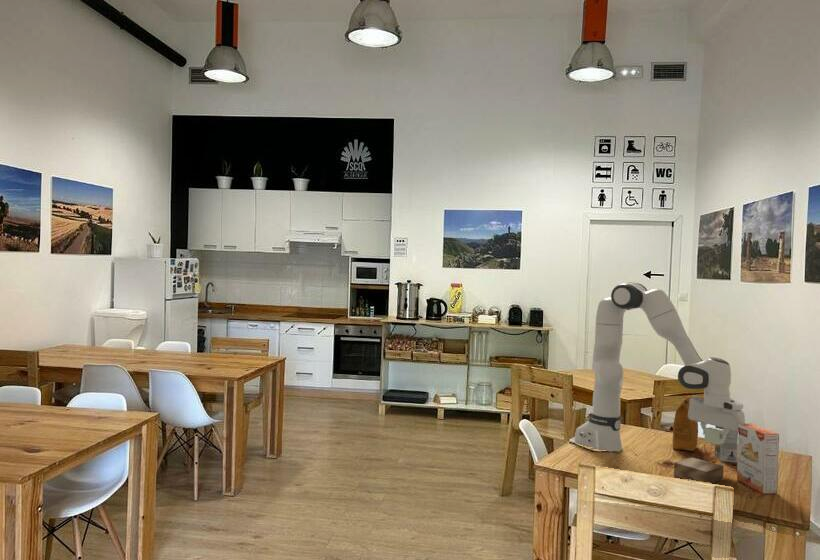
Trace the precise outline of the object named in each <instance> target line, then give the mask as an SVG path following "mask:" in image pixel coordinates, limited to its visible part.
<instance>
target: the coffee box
mask: <svg viewBox="0 0 820 560" xmlns="http://www.w3.org/2000/svg"><path fill="white" fill-rule="evenodd" d="M714 427H715V428H719V429H723V428H722V427H718V426H714ZM714 456H715V457H716V458H717V459H718V461H720V462H725V463H736V464H737V462H738V431H735V430H731V429H730V431H729V432H728V434H727V435H726V439H725V440H724V443H722V444H718V445H717V444H714Z"/></svg>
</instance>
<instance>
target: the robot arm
mask: <svg viewBox="0 0 820 560" xmlns="http://www.w3.org/2000/svg"><path fill="white" fill-rule="evenodd" d="M596 309H597V310H596V316H595V332H594V333H595V335H594V346H593V354H592V362H591V363H592V365H591V368H592V372H593V374H594V386H593V394H592V412H590V413H587V414H586V417H587V418H589V419H588V421H585V423H582V424H581V425H579V426H578V427H576V429H575V431H574V432H575V433H574V437H572V438H570V439H569V441H568V442H569V443H570V441H571V442H573V443H577V444H580V445H583V446H587V447H593V448H591V449H599V450H606V451H619V452H621V451H620V450H622V449H623V448H624V447H623V446H622V445H623V444H622V440H621V439H622V438H621V422H622V421H621V420H622V419H621V415H620V413H621V394H622V387H623V381H624V367H623V365H622V363H621V362H620V358H621V351H622V350H621V349H622V346H623V334H624V333H623V332H624V315H625V312H627V311H630V310H635V309H641V310H642V311H643V312H644V313H645V315H646V317H647V319H648V322H649V323H650V325H651V327H652V329H653V331H655V333H656V334H657V335H658V336H659V337H661V338H663V339H665V340H667V341H668V342H669V343H671V344H672V345H673V346H674V348H675V349H676V351H677V354H678V355H679V357H680V358H681V360H682V362H683V364H684V366H683V367H681V368H680V369H679V371H678V373H677V379H678V382H679V383H680V385H681V386H682V387H683V388H686V389H689V390H697V389H698V390H700V389H702V390H703V397H698V396H691V397H692V398H691V399H690V402H689V405H690V406H689V411H688V418H689V419H690V420H693V421H697V422H698V423H700V426H701V429H702V431H703V432H702V434H703V436H705V428H707V425H711V426H713V427H715V426H718V427H722V428H723V431H724V433H723V434H720V439H723V440H725V439H726V435H727V434H728V432H729V431H730V429H731V430H735V431H738V426H739V424H746V417H745V413H744V412H743V409H744V404H743V403H742V402H740V401H738V400H735V399H734V398H732V397H731V393H730V386H731V383H732V369H731V365H730V363H729V362H728V361H727V360H725V359H722V358H718V357H712V356H711V357H708V358H706V359H704V360H703V358H701V357H700V356H699V354H698V352H697V350H696V349H695V346H694V345H693V343H692V341H691V339H690V338H689V336H688V334H687V332H686V330H685V327H684V325H683V321H682V320H681V317H680V315H679V314H678V311H677V309H676V307H675V305H674V304H673V301H672V300H671V298H669V296H668V295H667V294H666V292H665V291H664V290H663V289H660V288H653V289H650V290H648V289H647V287H646V286H644V285H643V284H642V283H637V282H624V283H620V284H617V285H616V286H614V288H613V289H612V291H611V294H610V297H605V298H602V299H601V300H600V301H599V302H598V305H597V308H596ZM573 443H572V444H573ZM623 450H624V449H623ZM623 450H622V451H623Z"/></svg>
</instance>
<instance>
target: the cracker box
mask: <svg viewBox="0 0 820 560" xmlns="http://www.w3.org/2000/svg"><path fill="white" fill-rule="evenodd" d="M779 444H780V434H779V433H777V432H774V431H773V430H769V429H767V428H765V427H762V426H760V425H757V424H755V423H745V424H739V426H738V445H737V463H736V464H737V467H736V468H737V471H736V480H737V481H738V482H740V483H742V484H744V485H746V486H747V487H749V488H751V489H753V490H755V491H756V492H758V493H759V494H762V495H772V494H774V495H775V494H778V490H779V489H778V488H779V487H778V486H779V485H778V481H779V480H778V479H779V450H780V449H779V448H780V445H779Z"/></svg>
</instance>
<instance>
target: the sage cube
mask: <svg viewBox="0 0 820 560" xmlns="http://www.w3.org/2000/svg"><path fill="white" fill-rule="evenodd" d="M723 433H724V431H723V429H719V428H715V426H709V427H706V428H705V435H704V438H703V439H704V441H703V442H706V443H709V444H714V445H715V444H717V445H718V444H722V443H724V440H723V439H720V434H723Z"/></svg>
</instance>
